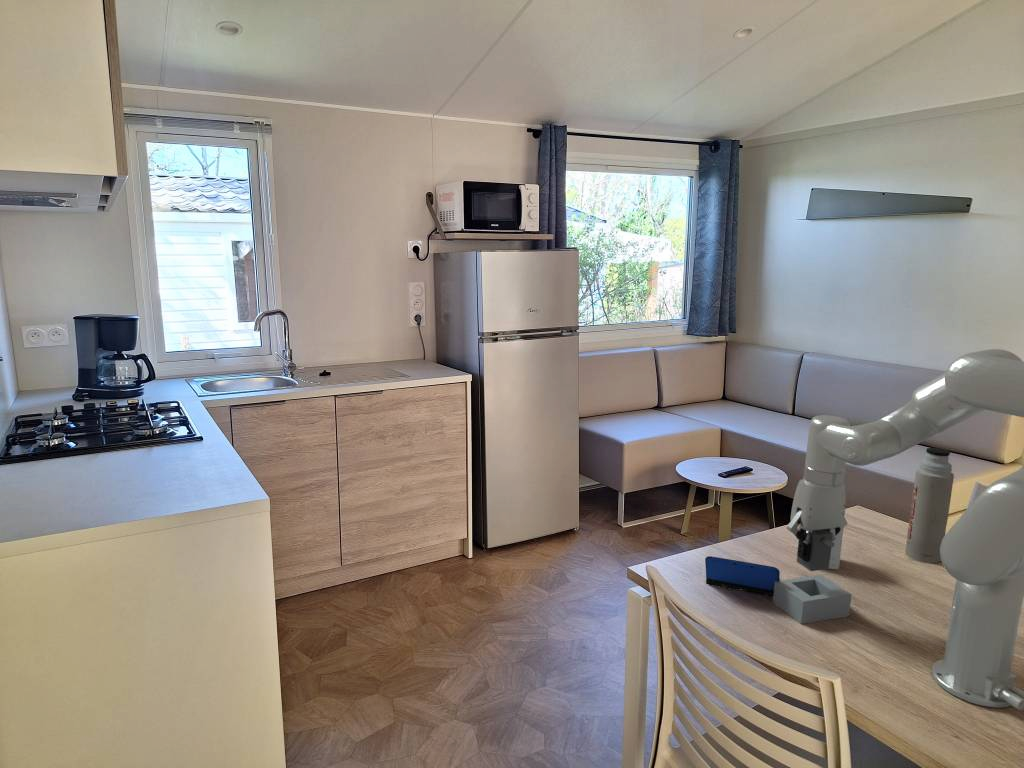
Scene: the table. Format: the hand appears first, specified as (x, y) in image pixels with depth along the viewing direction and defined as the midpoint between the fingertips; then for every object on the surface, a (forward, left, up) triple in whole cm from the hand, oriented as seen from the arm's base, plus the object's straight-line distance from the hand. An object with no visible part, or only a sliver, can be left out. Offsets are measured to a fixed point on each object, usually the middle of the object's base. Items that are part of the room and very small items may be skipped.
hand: (813, 556), depth 142 cm
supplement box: (+18, -18, -12) cm, 28 cm away
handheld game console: (+12, +8, -12) cm, 19 cm away
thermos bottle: (+14, -46, -12) cm, 50 cm away
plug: (-1, 0, -2) cm, 2 cm away
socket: (0, 0, -12) cm, 12 cm away
